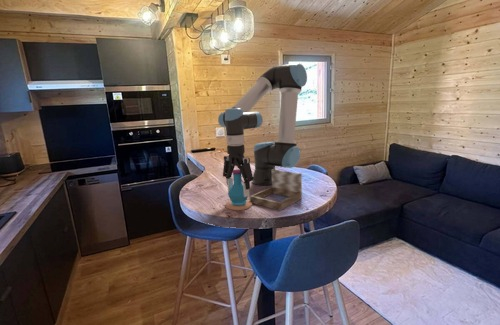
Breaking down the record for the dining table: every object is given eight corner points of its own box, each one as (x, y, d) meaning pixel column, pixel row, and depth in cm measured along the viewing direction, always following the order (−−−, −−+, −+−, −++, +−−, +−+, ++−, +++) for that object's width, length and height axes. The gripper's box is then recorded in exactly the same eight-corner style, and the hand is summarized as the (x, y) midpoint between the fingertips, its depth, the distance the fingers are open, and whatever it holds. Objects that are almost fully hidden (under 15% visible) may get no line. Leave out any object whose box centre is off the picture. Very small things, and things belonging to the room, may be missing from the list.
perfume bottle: (228, 199, 127) (226, 168, 123) (248, 198, 127) (246, 167, 124) (228, 206, 118) (226, 173, 114) (249, 205, 118) (248, 172, 115)
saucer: (220, 206, 122) (220, 204, 122) (238, 198, 131) (238, 197, 131) (239, 212, 115) (239, 210, 114) (257, 204, 123) (257, 202, 123)
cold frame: (250, 202, 126) (249, 177, 124) (273, 191, 140) (273, 169, 137) (280, 210, 115) (279, 183, 113) (302, 197, 129) (302, 173, 126)
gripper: (212, 144, 121) (216, 191, 126) (248, 147, 107) (251, 201, 112) (224, 141, 127) (227, 187, 132) (260, 145, 112) (262, 196, 117)
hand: (238, 193), depth 122 cm, fingers closed on perfume bottle, 9 cm apart
